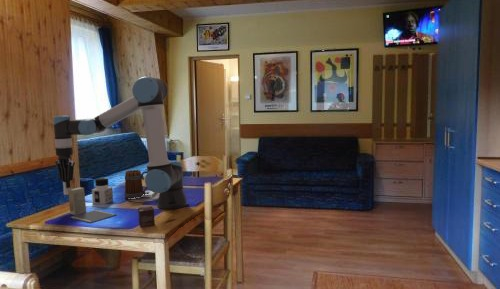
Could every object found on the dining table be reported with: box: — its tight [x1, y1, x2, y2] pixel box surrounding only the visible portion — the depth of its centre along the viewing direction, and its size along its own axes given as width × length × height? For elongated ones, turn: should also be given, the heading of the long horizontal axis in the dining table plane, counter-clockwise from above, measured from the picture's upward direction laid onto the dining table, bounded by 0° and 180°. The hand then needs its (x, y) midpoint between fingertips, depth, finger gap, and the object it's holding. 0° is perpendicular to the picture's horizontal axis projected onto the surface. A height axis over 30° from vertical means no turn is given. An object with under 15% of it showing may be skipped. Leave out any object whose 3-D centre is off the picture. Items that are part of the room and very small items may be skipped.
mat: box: [68, 209, 117, 224], centre depth 181 cm, size 16×14×1 cm
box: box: [137, 205, 156, 228], centre depth 167 cm, size 6×6×7 cm
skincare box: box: [68, 186, 87, 216], centre depth 187 cm, size 6×4×12 cm
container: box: [91, 177, 114, 205], centre depth 208 cm, size 8×8×13 cm
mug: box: [124, 169, 150, 200], centre depth 217 cm, size 16×11×15 cm
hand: (67, 194), depth 191 cm, fingers closed
